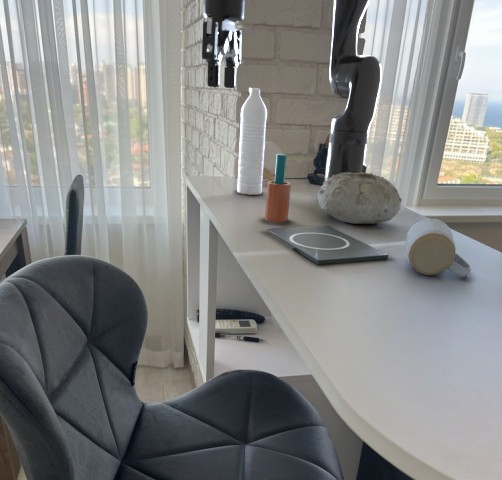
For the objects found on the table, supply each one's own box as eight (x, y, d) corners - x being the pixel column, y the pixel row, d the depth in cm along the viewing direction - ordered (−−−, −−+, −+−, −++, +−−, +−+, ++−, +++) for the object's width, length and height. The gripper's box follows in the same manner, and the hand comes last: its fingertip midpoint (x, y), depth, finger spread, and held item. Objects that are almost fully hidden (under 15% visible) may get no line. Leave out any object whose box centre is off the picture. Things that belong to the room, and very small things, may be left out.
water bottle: (262, 195, 131) (269, 89, 120) (237, 194, 131) (242, 87, 120) (259, 189, 139) (266, 88, 128) (236, 188, 139) (240, 87, 128)
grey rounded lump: (411, 232, 106) (421, 183, 102) (333, 232, 102) (340, 181, 97) (373, 212, 121) (380, 169, 117) (303, 211, 117) (308, 166, 113)
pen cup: (281, 218, 110) (284, 180, 107) (291, 223, 106) (295, 184, 103) (261, 219, 108) (263, 180, 105) (270, 224, 104) (273, 185, 101)
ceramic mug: (403, 274, 80) (414, 226, 77) (400, 259, 87) (410, 215, 84) (472, 284, 79) (487, 236, 75) (464, 268, 86) (477, 223, 82)
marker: (278, 217, 108) (283, 153, 102) (282, 220, 106) (288, 155, 101) (269, 218, 107) (275, 153, 102) (274, 220, 106) (279, 155, 100)
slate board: (327, 229, 104) (328, 225, 103) (387, 259, 87) (388, 254, 87) (266, 232, 98) (266, 228, 98) (317, 265, 82) (318, 259, 82)
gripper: (229, -19, 85) (226, 88, 92) (256, -5, 97) (251, 89, 105) (189, -19, 87) (189, 85, 94) (220, -5, 99) (217, 87, 107)
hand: (221, 87), depth 99 cm, fingers open, 8 cm apart
